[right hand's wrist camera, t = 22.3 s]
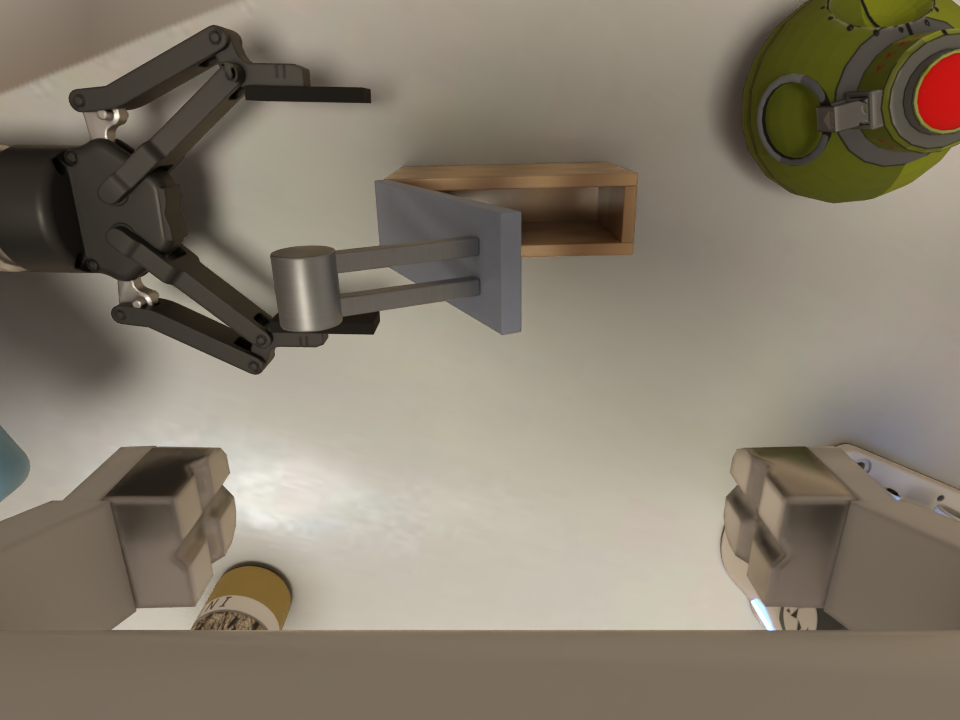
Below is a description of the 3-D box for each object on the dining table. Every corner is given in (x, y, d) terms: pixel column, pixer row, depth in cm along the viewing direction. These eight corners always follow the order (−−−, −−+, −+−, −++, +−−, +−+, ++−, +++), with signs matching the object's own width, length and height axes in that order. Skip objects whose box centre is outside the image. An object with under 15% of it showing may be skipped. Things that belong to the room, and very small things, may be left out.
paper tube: (304, 579, 57) (182, 904, 33) (277, 632, 59) (143, 971, 36) (232, 550, 56) (52, 865, 32) (206, 605, 58) (21, 937, 34)
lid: (522, 210, 23) (277, 234, 19) (522, 332, 24) (296, 374, 21) (389, 179, 35) (225, 190, 32) (395, 261, 37) (240, 279, 34)
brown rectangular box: (607, 161, 44) (638, 173, 35) (604, 228, 46) (633, 254, 37) (401, 166, 44) (383, 179, 36) (405, 233, 46) (389, 260, 37)
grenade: (892, -26, 40) (1116, -103, 26) (896, 166, 44) (1090, 191, 30) (698, 28, 41) (812, -17, 27) (720, 210, 45) (828, 254, 31)
